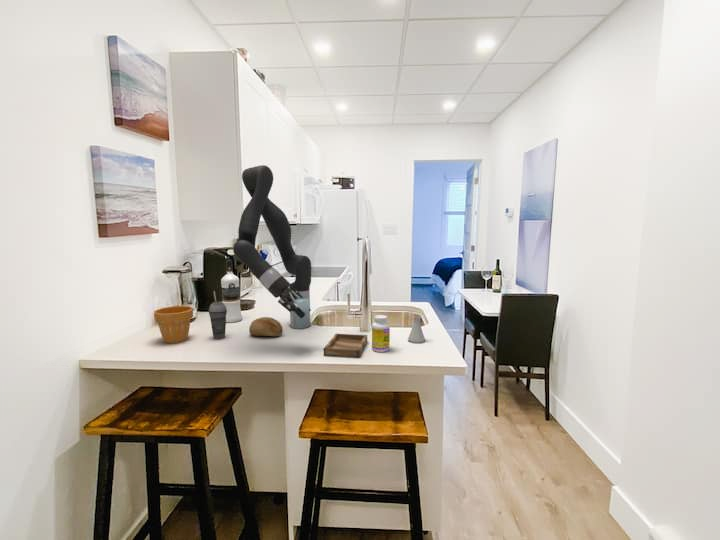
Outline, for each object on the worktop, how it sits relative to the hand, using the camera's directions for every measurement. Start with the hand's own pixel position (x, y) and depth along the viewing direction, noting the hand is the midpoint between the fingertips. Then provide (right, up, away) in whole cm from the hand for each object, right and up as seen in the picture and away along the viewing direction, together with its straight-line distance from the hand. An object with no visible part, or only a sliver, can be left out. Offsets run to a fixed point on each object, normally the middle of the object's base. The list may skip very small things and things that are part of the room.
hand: (306, 314), depth 135 cm
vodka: (-43, -9, +45) cm, 63 cm away
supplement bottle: (+28, -14, +2) cm, 31 cm away
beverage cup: (-39, -12, +18) cm, 45 cm away
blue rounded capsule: (-2, -4, +1) cm, 5 cm away
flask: (+43, -13, +13) cm, 47 cm away
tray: (+15, -14, +4) cm, 21 cm away
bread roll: (-20, -12, +21) cm, 32 cm away
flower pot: (-56, -13, +15) cm, 60 cm away
